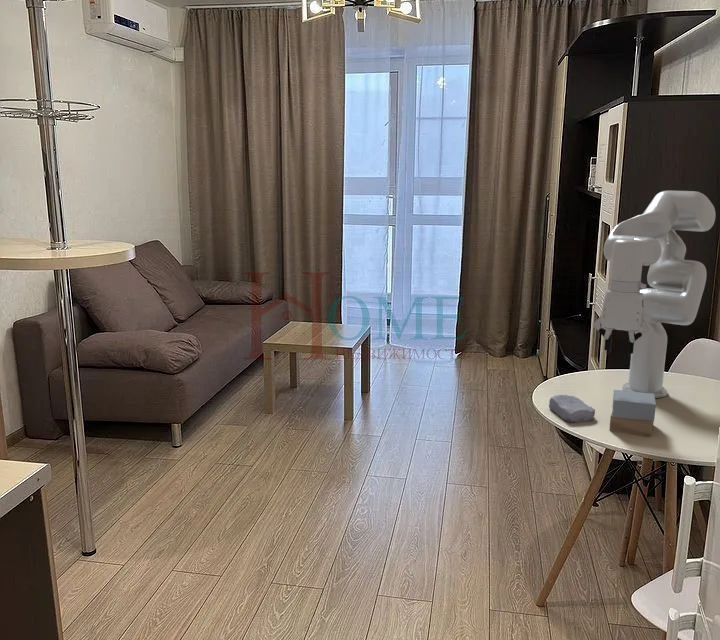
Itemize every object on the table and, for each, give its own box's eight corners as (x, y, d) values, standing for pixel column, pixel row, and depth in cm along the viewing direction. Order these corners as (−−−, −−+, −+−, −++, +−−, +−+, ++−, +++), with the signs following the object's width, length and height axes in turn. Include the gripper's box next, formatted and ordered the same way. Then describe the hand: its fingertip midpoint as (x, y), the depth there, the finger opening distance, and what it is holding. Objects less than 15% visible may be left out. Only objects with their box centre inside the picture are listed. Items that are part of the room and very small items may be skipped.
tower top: (612, 405, 190) (613, 389, 189) (652, 409, 186) (654, 393, 185) (612, 416, 181) (613, 400, 180) (654, 421, 178) (655, 404, 177)
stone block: (575, 411, 201) (544, 406, 198) (580, 396, 200) (549, 391, 197) (597, 429, 190) (564, 424, 187) (602, 412, 189) (570, 407, 186)
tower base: (613, 420, 191) (614, 405, 190) (653, 427, 187) (654, 411, 186) (609, 432, 183) (610, 415, 182) (650, 438, 179) (652, 422, 178)
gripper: (661, 287, 182) (653, 355, 186) (593, 282, 190) (588, 347, 194) (658, 292, 176) (650, 362, 180) (588, 286, 183) (583, 353, 187)
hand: (618, 353), depth 187 cm, fingers open, 4 cm apart
